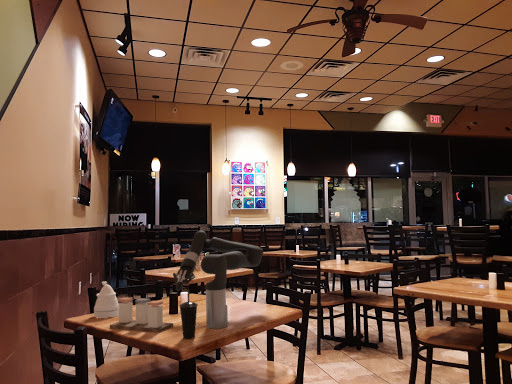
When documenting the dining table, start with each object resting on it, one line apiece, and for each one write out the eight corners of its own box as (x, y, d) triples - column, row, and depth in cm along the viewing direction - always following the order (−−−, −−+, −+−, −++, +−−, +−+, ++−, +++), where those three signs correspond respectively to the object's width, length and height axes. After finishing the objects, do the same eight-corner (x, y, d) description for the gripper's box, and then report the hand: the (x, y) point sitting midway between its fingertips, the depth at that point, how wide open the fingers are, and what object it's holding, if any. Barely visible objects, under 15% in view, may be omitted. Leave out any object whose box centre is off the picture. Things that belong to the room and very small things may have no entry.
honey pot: (88, 317, 218) (88, 283, 220) (107, 312, 230) (107, 279, 231) (105, 319, 212) (105, 284, 214) (124, 314, 224) (124, 280, 225)
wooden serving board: (173, 326, 194) (173, 323, 194) (159, 332, 183) (159, 329, 183) (125, 322, 204) (125, 319, 204) (109, 328, 194) (109, 324, 194)
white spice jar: (132, 320, 199) (132, 297, 200) (127, 322, 195) (127, 299, 196) (124, 320, 201) (124, 297, 202) (118, 322, 197) (118, 299, 198)
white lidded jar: (150, 322, 196) (149, 298, 196) (144, 324, 192) (144, 300, 193) (141, 321, 198) (140, 298, 198) (135, 323, 194) (135, 299, 194)
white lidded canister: (162, 325, 188) (162, 301, 189) (157, 327, 184) (157, 303, 185) (153, 324, 190) (153, 300, 191) (147, 327, 186) (147, 302, 187)
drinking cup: (199, 334, 178) (198, 287, 179) (197, 339, 170) (196, 290, 172) (181, 335, 178) (180, 288, 179) (178, 340, 170) (178, 291, 171)
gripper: (203, 267, 218) (191, 294, 206) (181, 266, 223) (169, 293, 210) (198, 257, 213) (186, 285, 201) (176, 257, 218) (163, 284, 206)
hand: (177, 289), depth 206 cm, fingers closed
